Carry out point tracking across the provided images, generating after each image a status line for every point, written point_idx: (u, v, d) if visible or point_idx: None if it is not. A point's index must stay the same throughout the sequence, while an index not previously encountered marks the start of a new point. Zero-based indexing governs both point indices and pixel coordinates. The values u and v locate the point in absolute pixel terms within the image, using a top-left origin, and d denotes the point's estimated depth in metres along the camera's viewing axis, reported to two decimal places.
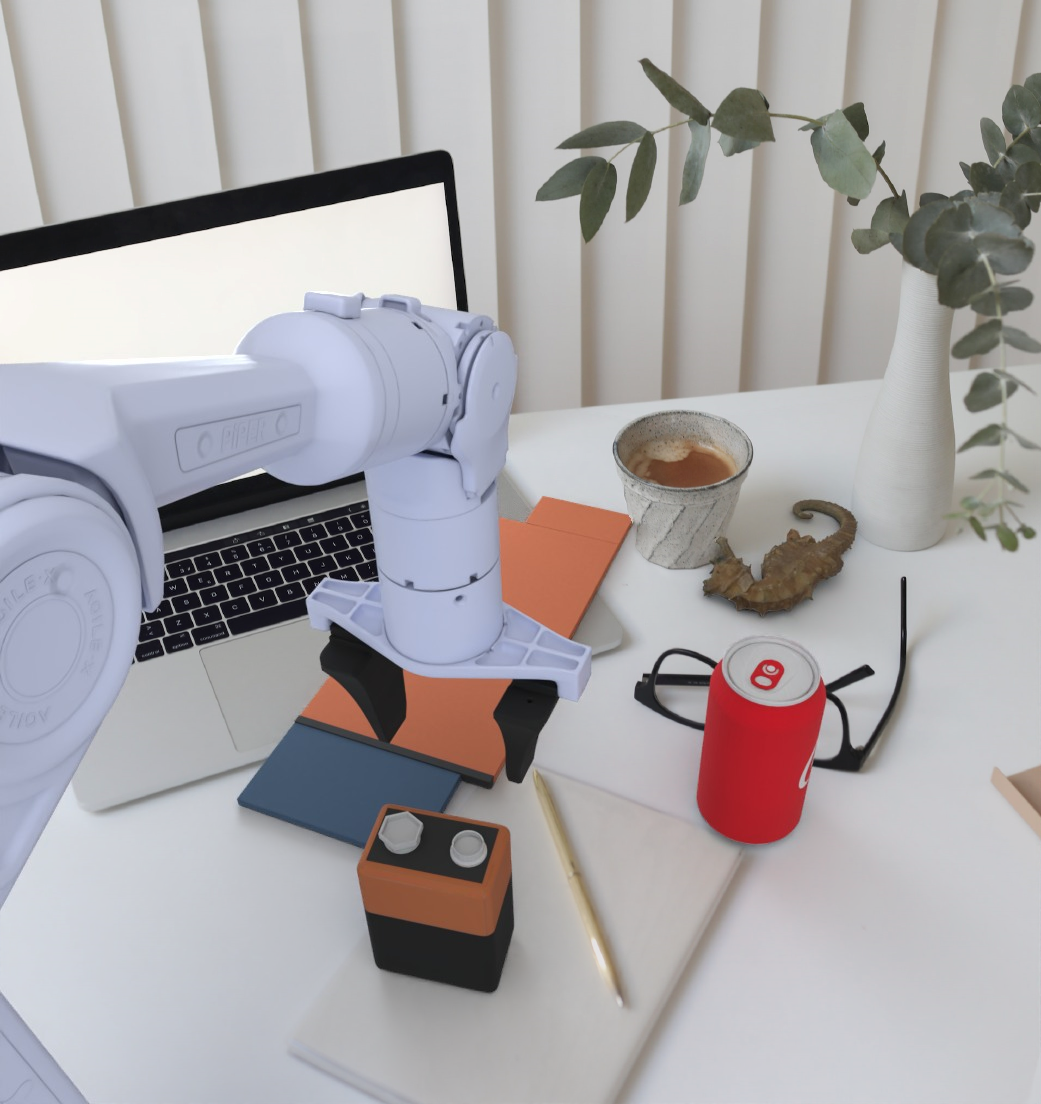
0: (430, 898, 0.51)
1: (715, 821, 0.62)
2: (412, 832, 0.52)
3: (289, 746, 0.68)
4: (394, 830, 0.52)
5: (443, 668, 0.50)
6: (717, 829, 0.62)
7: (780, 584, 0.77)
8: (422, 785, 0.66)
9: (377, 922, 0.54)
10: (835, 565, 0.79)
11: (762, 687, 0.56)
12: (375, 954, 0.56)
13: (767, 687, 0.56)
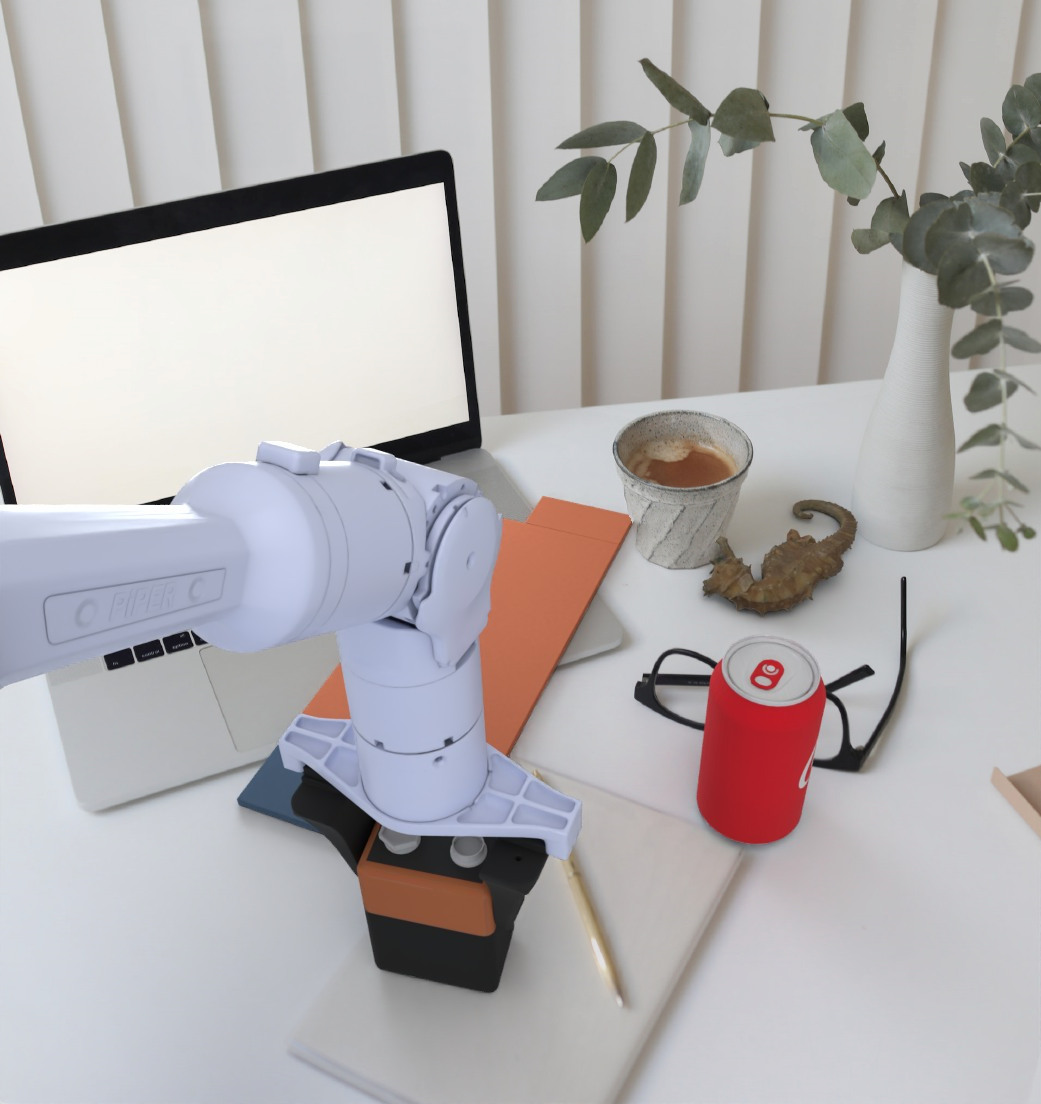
0: (430, 898, 0.51)
1: (715, 821, 0.62)
2: None
3: None
4: None
5: (423, 827, 0.46)
6: (717, 829, 0.62)
7: (780, 584, 0.77)
8: None
9: (377, 923, 0.54)
10: (836, 565, 0.79)
11: (762, 687, 0.56)
12: (375, 954, 0.56)
13: (767, 687, 0.56)
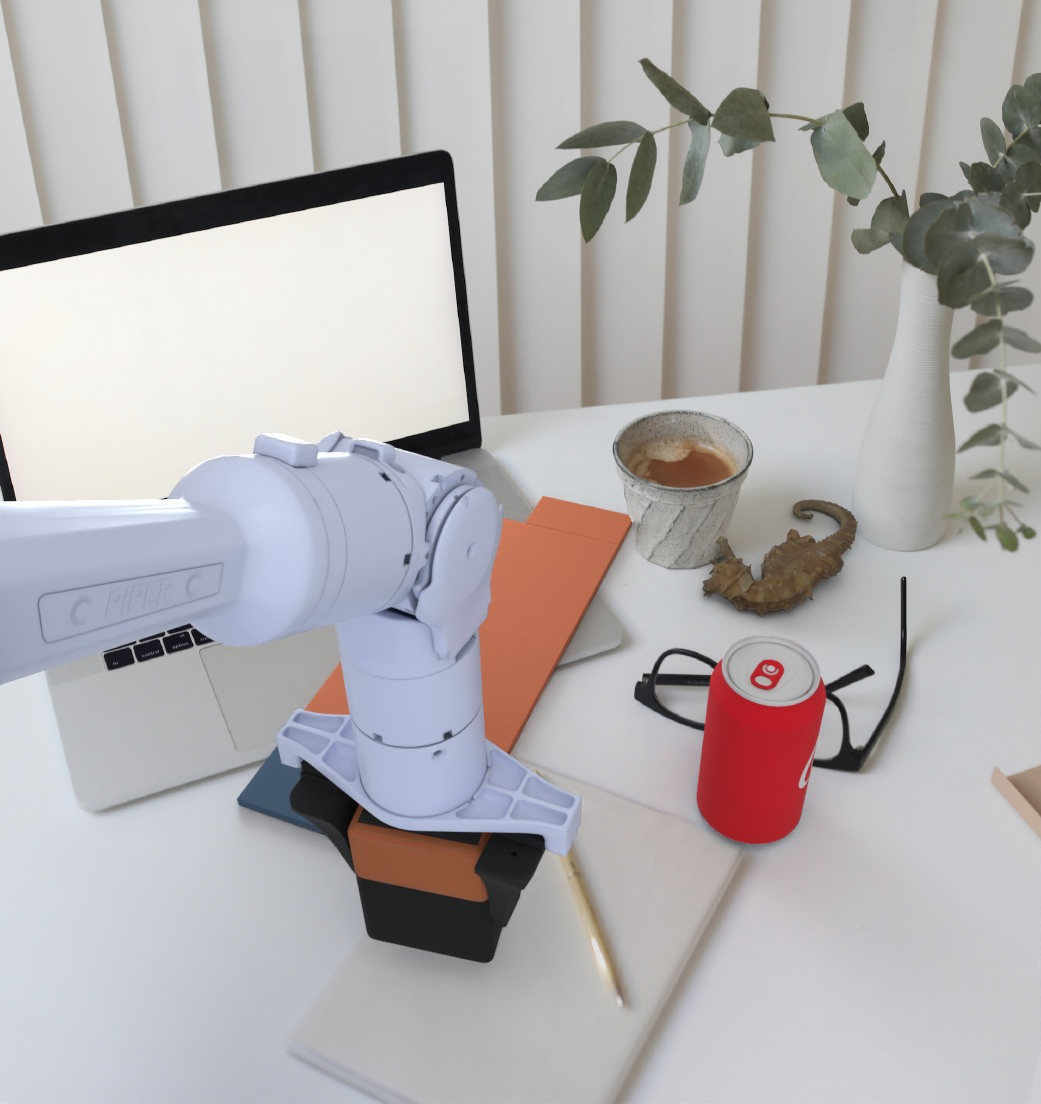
0: (424, 861, 0.49)
1: (715, 821, 0.62)
2: None
3: None
4: None
5: (421, 822, 0.46)
6: (717, 829, 0.62)
7: (780, 584, 0.77)
8: None
9: (369, 889, 0.52)
10: (835, 565, 0.79)
11: (762, 687, 0.56)
12: (367, 923, 0.54)
13: (767, 687, 0.56)
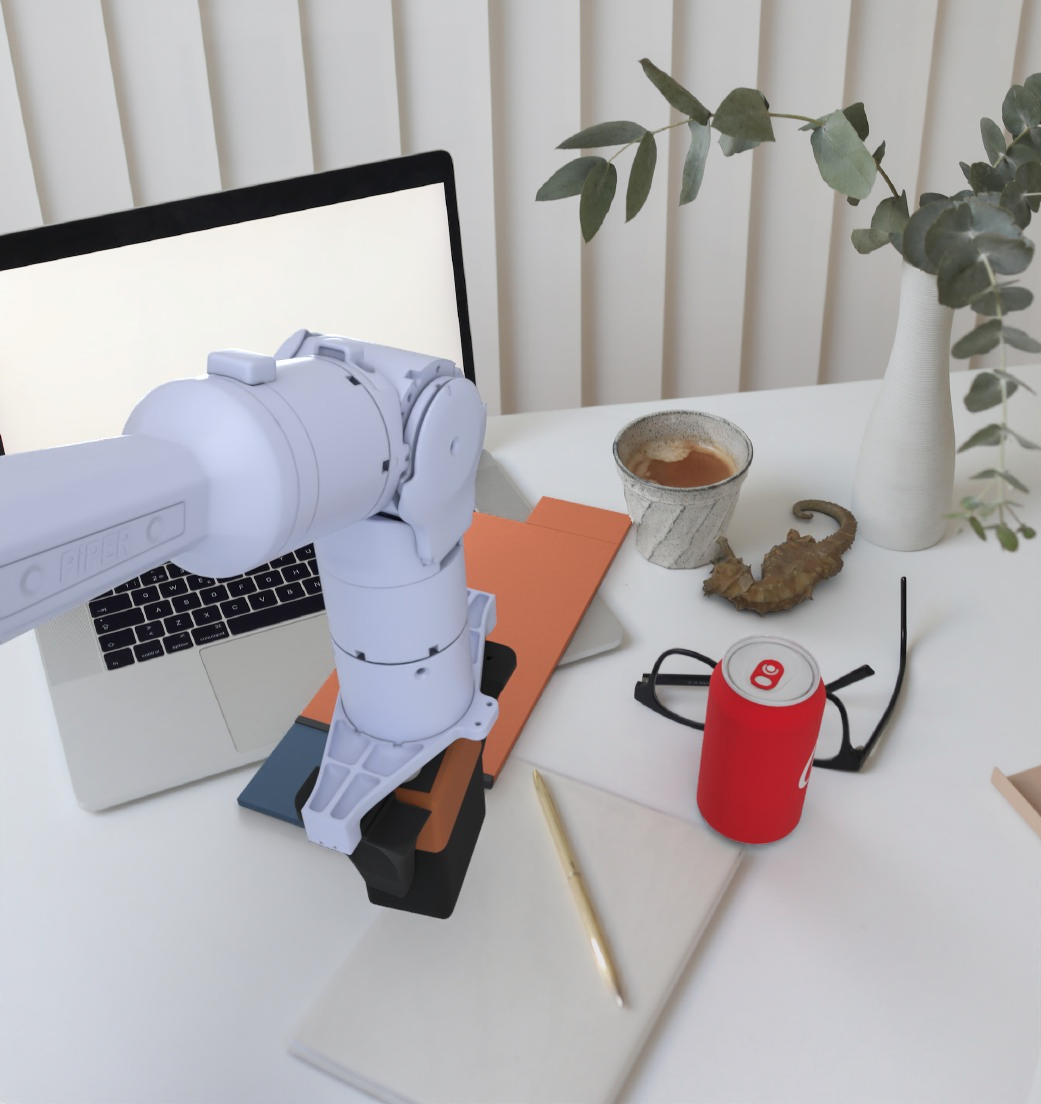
0: None
1: (715, 821, 0.62)
2: None
3: (289, 746, 0.68)
4: None
5: None
6: (717, 829, 0.62)
7: (780, 584, 0.77)
8: None
9: None
10: (836, 565, 0.79)
11: (762, 687, 0.56)
12: None
13: (767, 687, 0.56)
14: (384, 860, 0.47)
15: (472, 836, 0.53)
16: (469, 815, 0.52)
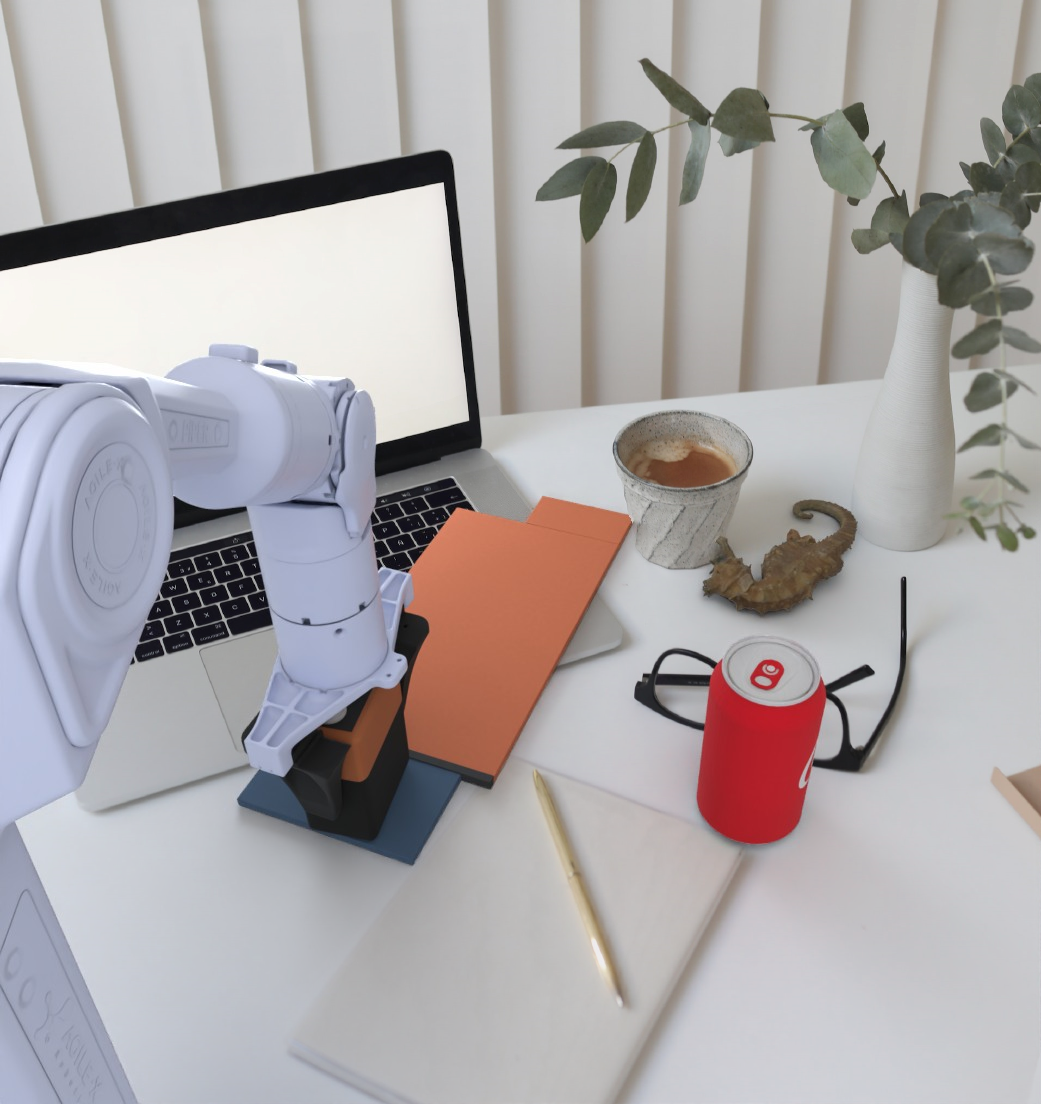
0: None
1: (715, 821, 0.62)
2: None
3: None
4: None
5: None
6: (717, 829, 0.62)
7: (780, 584, 0.77)
8: (422, 785, 0.66)
9: None
10: (836, 565, 0.79)
11: (762, 687, 0.56)
12: None
13: (767, 687, 0.56)
14: (316, 788, 0.58)
15: (395, 774, 0.64)
16: (391, 755, 0.63)
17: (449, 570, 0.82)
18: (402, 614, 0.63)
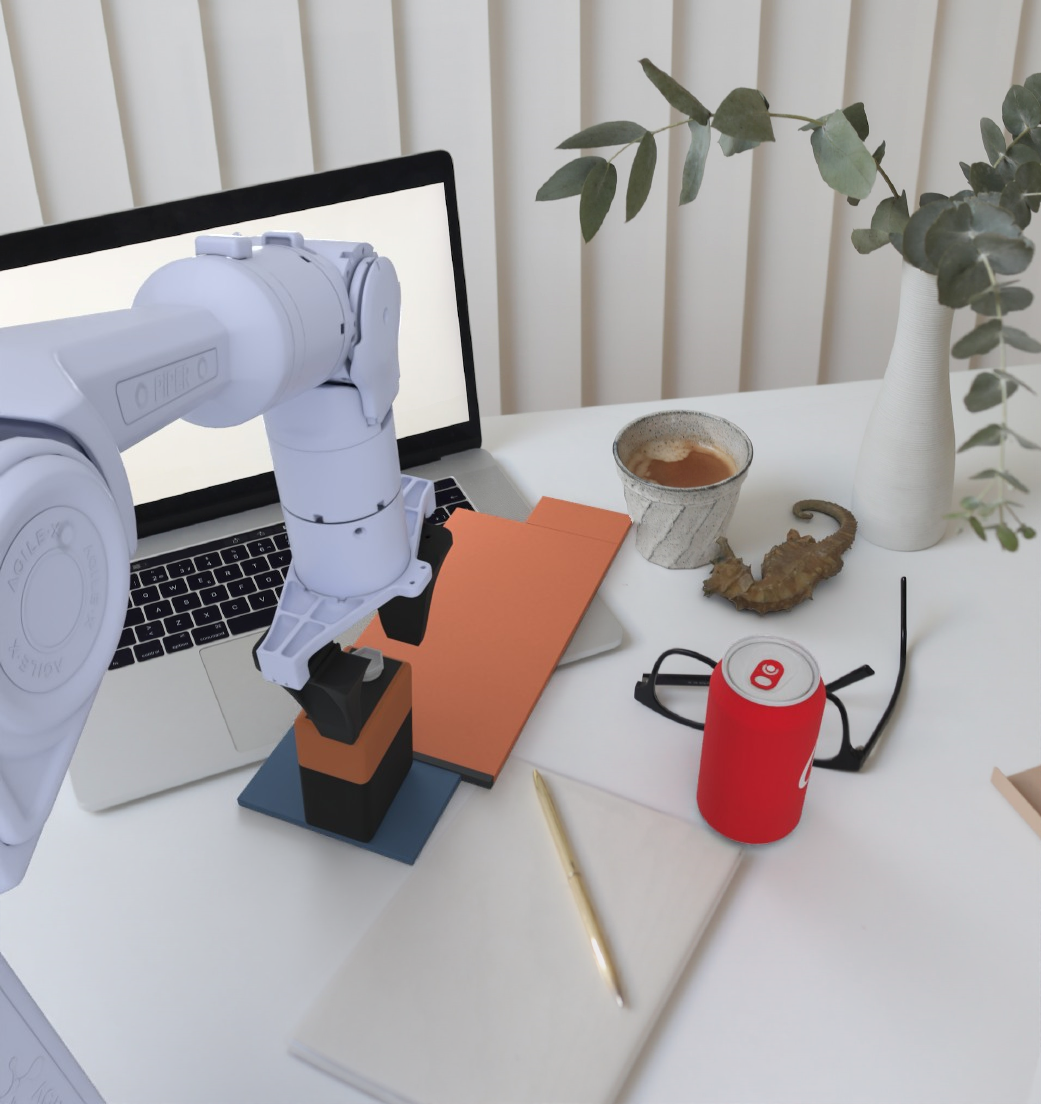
0: None
1: (715, 821, 0.62)
2: None
3: (289, 746, 0.68)
4: None
5: (291, 562, 0.53)
6: (717, 829, 0.62)
7: (780, 584, 0.77)
8: (422, 785, 0.66)
9: None
10: (835, 565, 0.79)
11: (762, 687, 0.56)
12: None
13: (767, 687, 0.56)
14: (333, 709, 0.54)
15: (397, 779, 0.64)
16: (395, 760, 0.63)
17: (449, 570, 0.82)
18: (423, 525, 0.58)
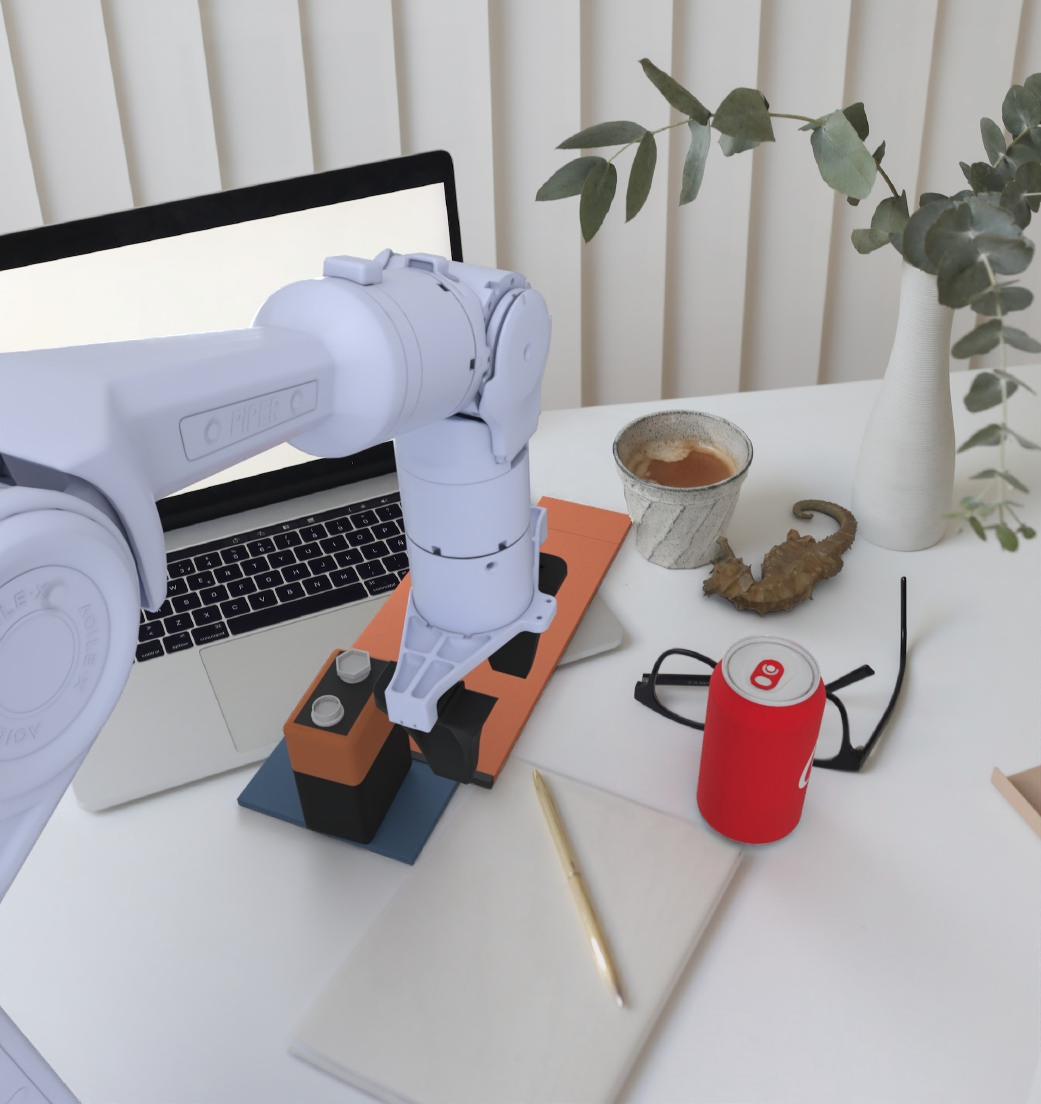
0: None
1: (715, 821, 0.62)
2: (351, 672, 0.60)
3: None
4: (357, 661, 0.61)
5: (409, 595, 0.51)
6: (717, 829, 0.62)
7: (780, 584, 0.77)
8: (422, 785, 0.66)
9: None
10: (836, 565, 0.79)
11: (762, 687, 0.56)
12: None
13: (767, 687, 0.56)
14: (452, 747, 0.52)
15: (394, 779, 0.64)
16: (390, 761, 0.63)
17: None
18: None
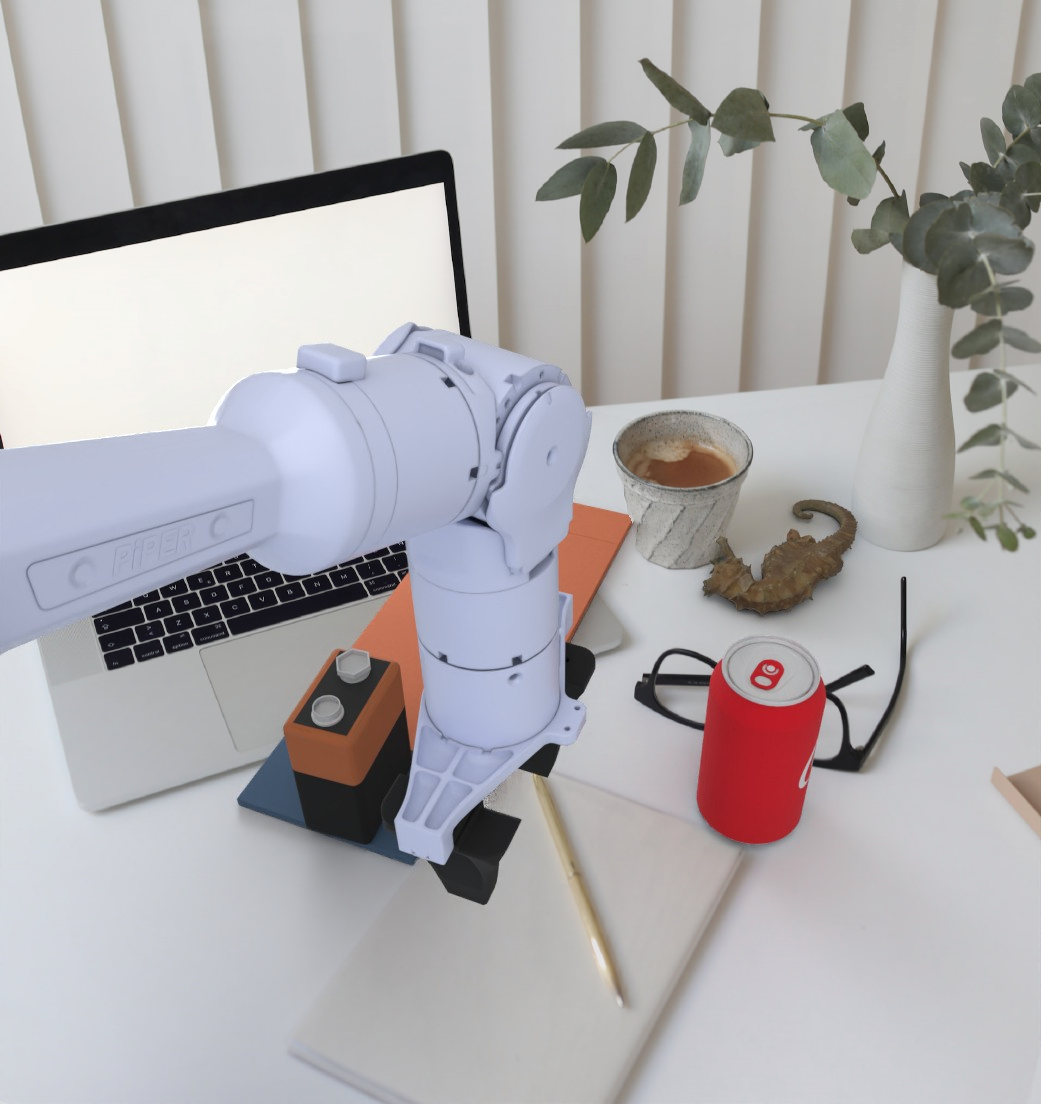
0: None
1: (715, 821, 0.62)
2: (351, 672, 0.60)
3: None
4: (357, 661, 0.61)
5: (421, 700, 0.46)
6: (717, 829, 0.62)
7: (780, 584, 0.77)
8: None
9: None
10: (836, 565, 0.79)
11: (762, 687, 0.56)
12: None
13: (767, 687, 0.56)
14: (468, 868, 0.46)
15: (394, 779, 0.64)
16: (390, 761, 0.63)
17: None
18: None
